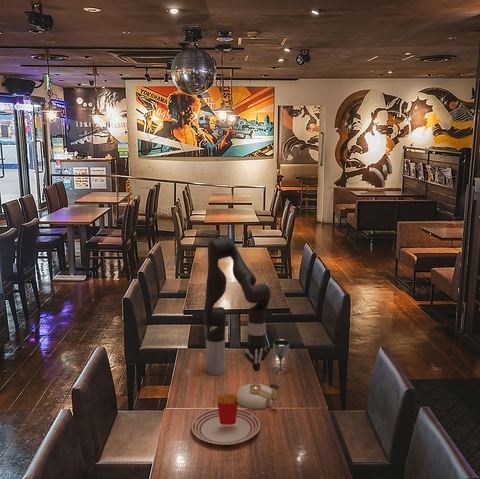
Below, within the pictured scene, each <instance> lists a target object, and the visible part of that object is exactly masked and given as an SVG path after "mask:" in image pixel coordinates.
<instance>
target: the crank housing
mask: <svg viewBox="0 0 480 479" xmlns="http://www.w3.org/2000/svg"><path fill="white" fill-rule="evenodd" d="M252 384H253V383H250V384H249V383H248V384H244V385H242V386H239V388H238V389H237V392H236V393H237V395H236V396H238V399H237V401H238V405H240V406H241V407H244V408H246V409H250V410H262V409H267V408H268V407H271V405H273V403H274V401H272V400H271V399H268V398H266V397H264V396H262V395H259V394H253V393H250V385H252ZM257 384H258V385H260V386H261V389H262V390H264V391H266V392H268V393H271V394H272V387H270V386H267V385H265V384H261V383H257Z"/></svg>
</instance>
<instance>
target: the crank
mask: <svg viewBox="0 0 480 479" xmlns="http://www.w3.org/2000/svg"><path fill="white" fill-rule="evenodd" d="M251 384H252V385H250V393H253V394H259V395H262V396H264V397H266V398H268V399H271V400H272V401H273V402H276V401H277V400H278V390H279V389H280V386H279V385H277V384H275V383H270V384H269V387H270V388H271V389H272V394H271V393H268V392H266V391H264V390H262V389H261V386H260V385H258V384H259V383H251Z"/></svg>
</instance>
